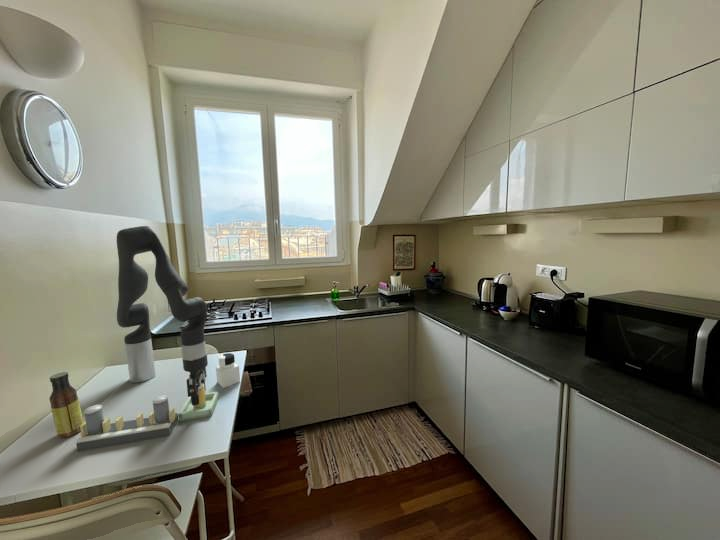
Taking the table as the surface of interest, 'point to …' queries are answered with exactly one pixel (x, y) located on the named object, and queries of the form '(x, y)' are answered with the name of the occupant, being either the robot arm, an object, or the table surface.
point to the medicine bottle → (227, 370)
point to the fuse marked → (201, 398)
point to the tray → (190, 413)
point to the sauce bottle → (65, 406)
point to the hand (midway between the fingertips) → (199, 398)
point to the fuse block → (126, 431)
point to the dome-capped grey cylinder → (94, 420)
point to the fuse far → (161, 409)
